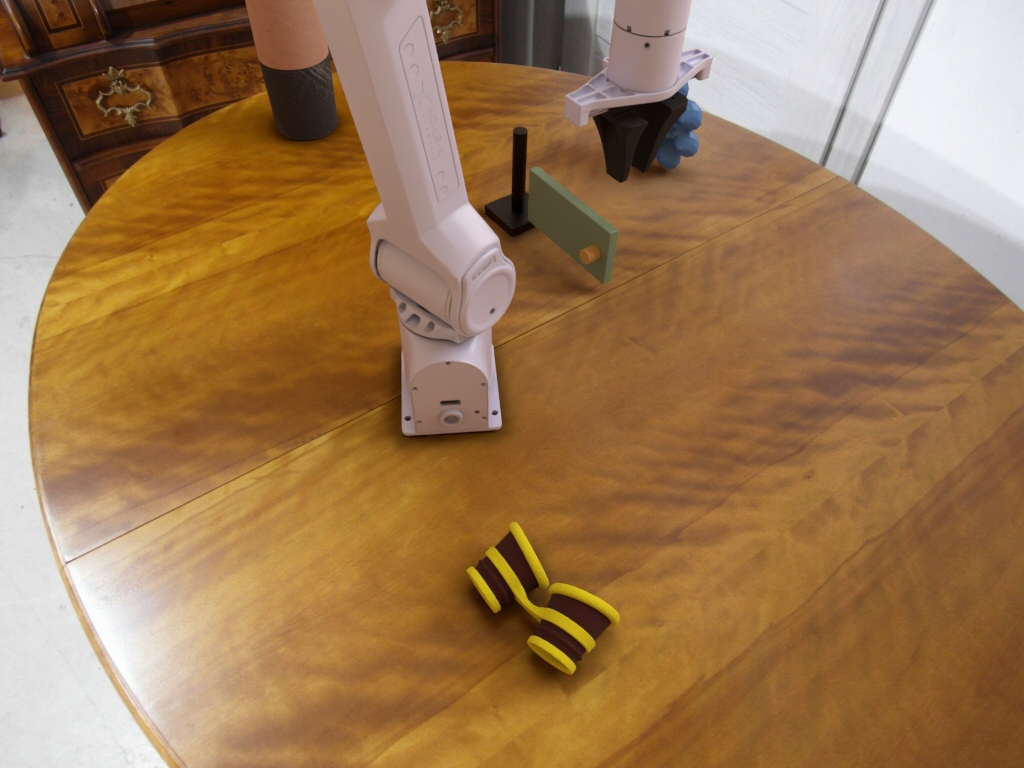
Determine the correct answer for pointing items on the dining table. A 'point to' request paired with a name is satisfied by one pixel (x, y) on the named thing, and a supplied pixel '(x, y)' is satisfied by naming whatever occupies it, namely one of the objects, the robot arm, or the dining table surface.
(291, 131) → the travel mug
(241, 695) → the dining table surface
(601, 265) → the gate door
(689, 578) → the dining table surface
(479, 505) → the dining table surface
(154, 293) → the dining table surface
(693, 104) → the grapes
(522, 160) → the hinge post
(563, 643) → the opera glasses
